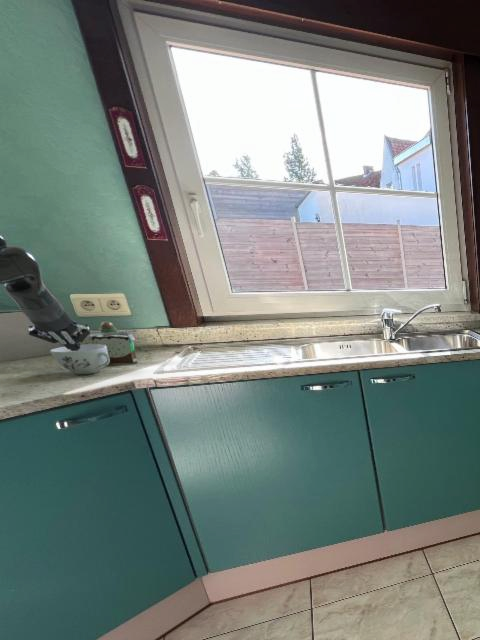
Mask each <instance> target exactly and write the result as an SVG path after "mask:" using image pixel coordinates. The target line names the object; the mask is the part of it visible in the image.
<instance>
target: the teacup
mask: <svg viewBox="0 0 480 640" xmlns="http://www.w3.org/2000/svg"><path fill="white" fill-rule="evenodd" d="M49 352H50V353H51V355H52V357H53V358H54V359H55V360H56V362H57V363H58V364H59V365H60V366H62V367H63V368H64V369H66V370H68V371H70V372H72V373H73V374H75V375H90V374H91V375H92V374H96V373H99V372H101V370H102V369H103V368H104V367H107V366H108V365H110V364H109V362H110V358H109V355H108V352H107V347H106V346H105V345H101V344H93V343H92V344H91V343H90V344H89V343H88V344H80V349H79V351H71V350H70V349H67V348H66V347H65V346H59V347H56V348H52V349H51V350H49ZM106 361H107V362H106Z"/></svg>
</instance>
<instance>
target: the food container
mask: <svg viewBox="0 0 480 640" xmlns="http://www.w3.org/2000/svg"><path fill="white" fill-rule="evenodd" d="M88 338H89V341H90V342H92V344H101V345H105V346H106V347H107V352H108V355H109V358H110V362H109V364H108V365H136V364H138V360H137V354H136V350H135V345H134V341H135V340H136V338H135V337H134V335H133V334H132V333H131V332H126V331H121V332H120V331H118V332H111V333H100V332H97V333H90V334H89V336H88ZM106 362H107V361H106Z"/></svg>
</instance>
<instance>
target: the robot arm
mask: <svg viewBox="0 0 480 640" xmlns="http://www.w3.org/2000/svg"><path fill="white" fill-rule="evenodd" d="M0 285H3V288H4V290H5V292H6V293H7V295H8V296H10V298H11V299H12V300H13V301H14V302H15V303H16V305H17V307H18V308H19V310H20V311H21V312H22V314H23V315H24V316H25V317H26V318H27V319H28V320H29V321H30V322H31V323H32V324H33V325H29V326H28V329H27V331H28V335H29V336H31V337H34V338H37V339H40V340H42V341H46V342H47V343H51V344H57V343H60V344H62V345H63V347H66V348H67V349H70V350H71V351H79V349H80V345H81V343H83V342H84V341H85V339H86V338H87V337H89V336H90V334H91V325H90V324H87V323H85V324H83V325H81V324H78V322H77V321H75V320H73V318H72V317H71V316H70V315H69V313H68V312H67V311H66V309H65V308H64V306H63V305H62V304H61V303H60V301H59V300H58V298H57V297H55V296H54V295H53V294H52V293H51V292H50V290H49V289H48V288H47V286H46V285H45V283H44V281H43V277H42V272H41V268H40V264H39V263H38V260H37V259H36V257H35V256H34V255H33V254H32V253H31V252H29V251H28V250H27V249H25V248H23V247H20V246H17V245H9V246H8V242H7V240H6V239H5V237H4V236H3V235H2V234H1V233H0ZM75 332H76V333H75Z"/></svg>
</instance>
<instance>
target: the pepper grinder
mask: <svg viewBox="0 0 480 640" xmlns="http://www.w3.org/2000/svg"><path fill="white" fill-rule="evenodd" d="M98 329H99V333H111V332H119V329H118V327H117V326H116V327H115V325H114V323H113V322H111V321H107V320H105V321H102V322H101V323H100V328H98Z"/></svg>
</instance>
